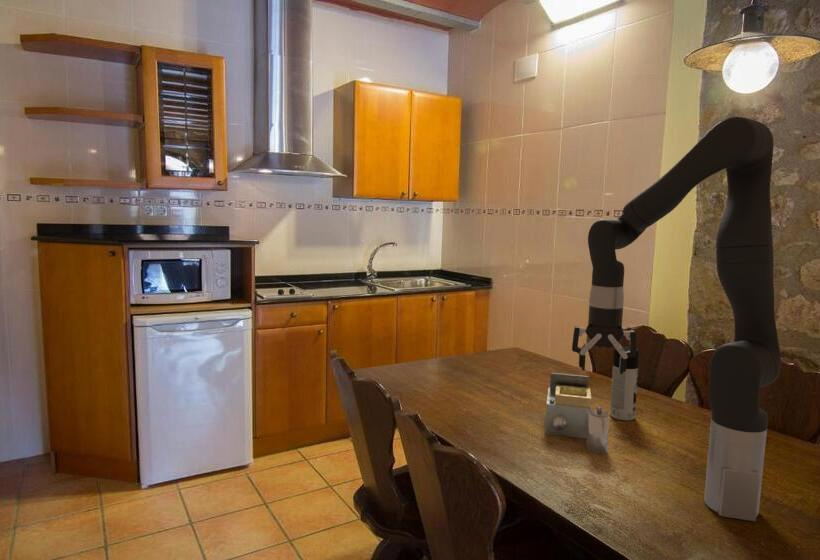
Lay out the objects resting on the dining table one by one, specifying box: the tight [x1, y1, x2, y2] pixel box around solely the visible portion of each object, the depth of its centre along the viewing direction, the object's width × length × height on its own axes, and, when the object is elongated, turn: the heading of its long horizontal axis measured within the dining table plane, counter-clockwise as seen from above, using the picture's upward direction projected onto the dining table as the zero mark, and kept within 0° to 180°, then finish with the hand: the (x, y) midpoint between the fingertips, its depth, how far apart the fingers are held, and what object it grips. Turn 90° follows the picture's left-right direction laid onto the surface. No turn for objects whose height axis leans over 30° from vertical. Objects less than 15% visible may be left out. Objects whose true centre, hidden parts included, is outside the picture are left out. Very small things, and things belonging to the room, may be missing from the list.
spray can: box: [609, 345, 640, 422], centre depth 150 cm, size 7×7×20 cm
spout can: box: [586, 406, 611, 455], centre depth 129 cm, size 5×5×11 cm
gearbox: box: [544, 372, 592, 440], centre depth 141 cm, size 17×11×13 cm, turn 163°
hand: (601, 371), depth 127 cm, fingers open, 8 cm apart
